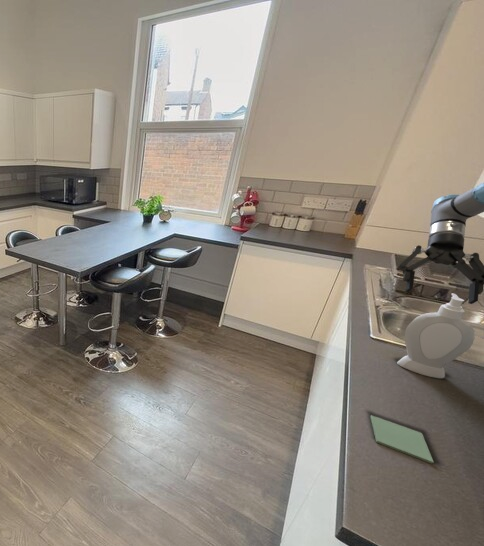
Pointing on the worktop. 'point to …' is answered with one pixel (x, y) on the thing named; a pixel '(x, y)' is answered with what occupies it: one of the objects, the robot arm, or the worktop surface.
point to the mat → (401, 439)
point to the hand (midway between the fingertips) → (439, 296)
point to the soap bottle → (437, 339)
